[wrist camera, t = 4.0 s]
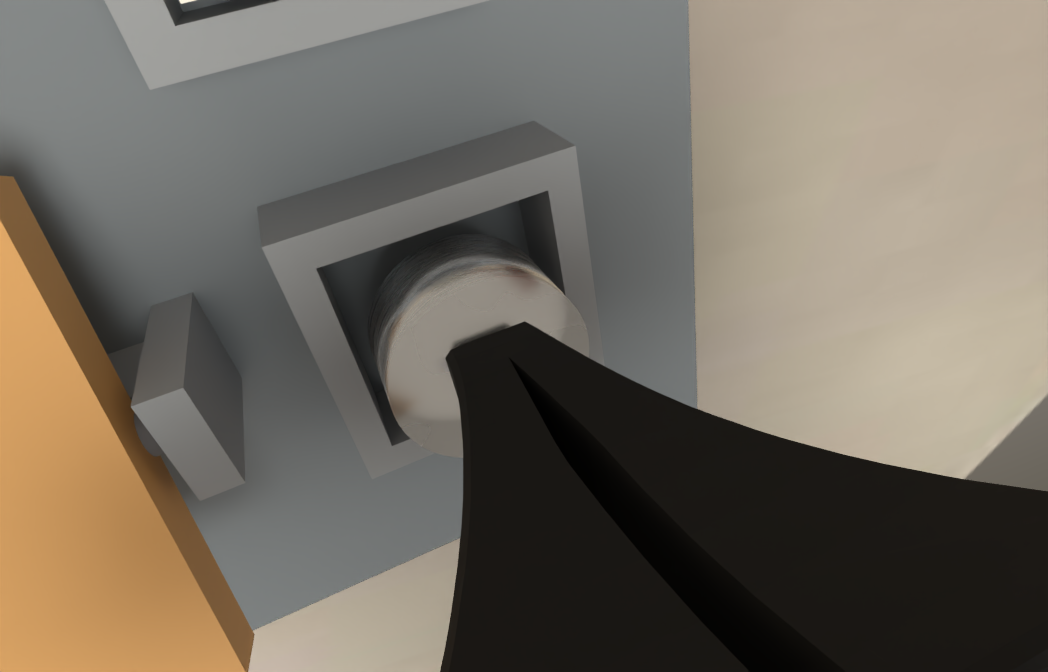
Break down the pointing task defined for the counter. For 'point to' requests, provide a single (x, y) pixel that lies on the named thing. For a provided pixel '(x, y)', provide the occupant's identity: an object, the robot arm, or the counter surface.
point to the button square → (185, 1)
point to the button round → (456, 325)
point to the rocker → (90, 497)
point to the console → (340, 230)
